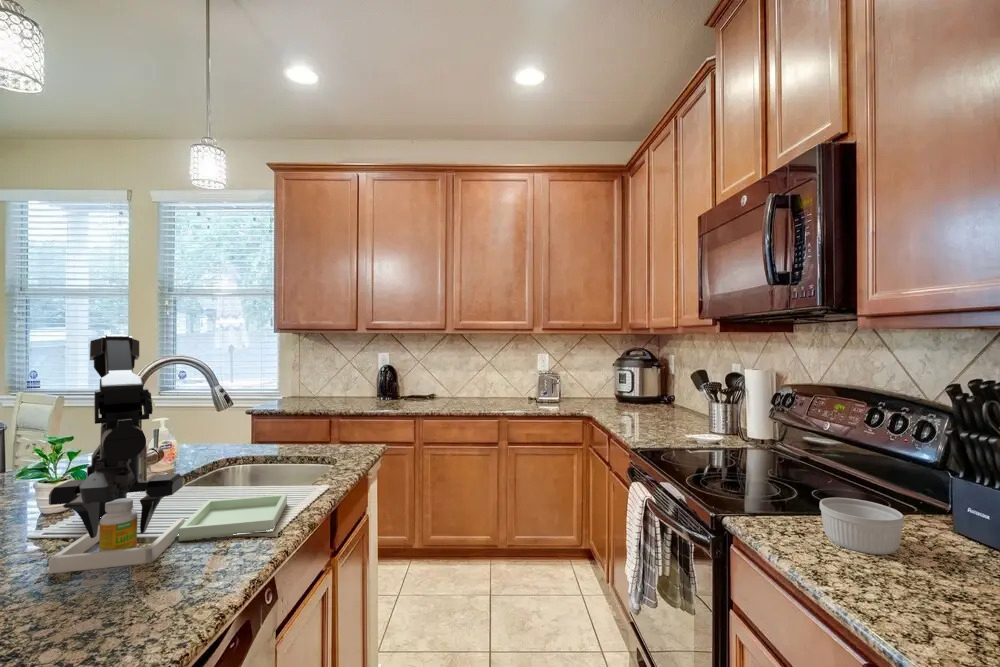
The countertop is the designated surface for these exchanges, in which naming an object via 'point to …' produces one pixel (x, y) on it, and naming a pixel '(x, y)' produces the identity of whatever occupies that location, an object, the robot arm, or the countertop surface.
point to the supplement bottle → (118, 526)
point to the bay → (109, 553)
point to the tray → (233, 517)
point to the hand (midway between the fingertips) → (118, 534)
